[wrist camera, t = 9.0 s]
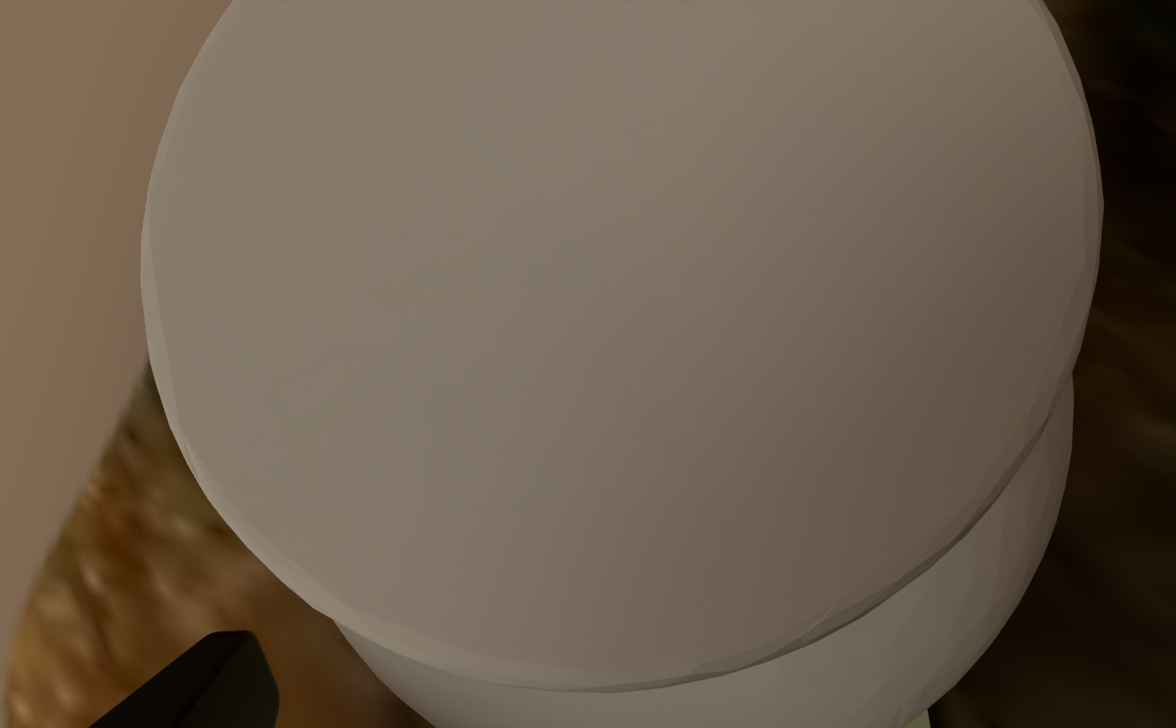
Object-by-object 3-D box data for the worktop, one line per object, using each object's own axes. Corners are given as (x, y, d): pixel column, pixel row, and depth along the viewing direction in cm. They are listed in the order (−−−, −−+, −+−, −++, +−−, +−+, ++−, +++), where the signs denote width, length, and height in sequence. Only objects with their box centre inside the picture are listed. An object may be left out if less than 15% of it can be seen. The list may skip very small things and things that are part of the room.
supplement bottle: (497, 687, 16) (-240, 846, 4) (535, 330, 18) (98, -300, 6) (893, 729, 15) (1519, 1129, 3) (892, 342, 17) (1275, -424, 5)
